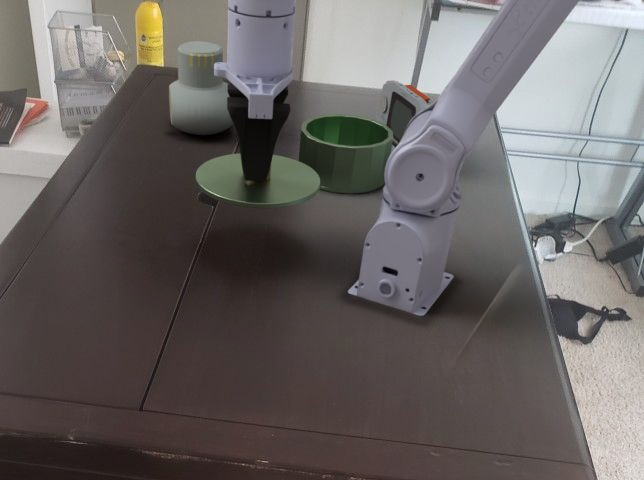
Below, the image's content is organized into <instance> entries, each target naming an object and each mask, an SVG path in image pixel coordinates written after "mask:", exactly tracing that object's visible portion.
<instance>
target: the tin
mask: <svg viewBox="0 0 644 480" xmlns="http://www.w3.org/2000/svg"><path fill="white" fill-rule="evenodd" d="M299 139H300V140H299V152H298V161H299V162H301V163H304V164H306V165H307V166H309V167H311V168H312V169H313V170H314V171H315V172H316V173H317V174H318V176H319V178H320V189H319V190H322V191H326V192H330V193H336V194H350V195H351V194H363V193H369V192H373V191H376V190H378V189H380V188H382V187H384V186H385V176H384V174H385V167H386V163H387V160H388V158H389V156H390V154H391V149H392V143H393V131H392V130H391V129H390V128H389V127H388V126H386V125H385V124H382V123H380V122H378V121H376V119H373V118H370V117H364V116H359V115H354V114H353V115H352V114H341V113H337V114H323V115H318V116H317V115H316V116H313V117H310V118H308V119H307V120H305V121H304V122H302V124H301V129H300V137H299Z"/></svg>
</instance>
